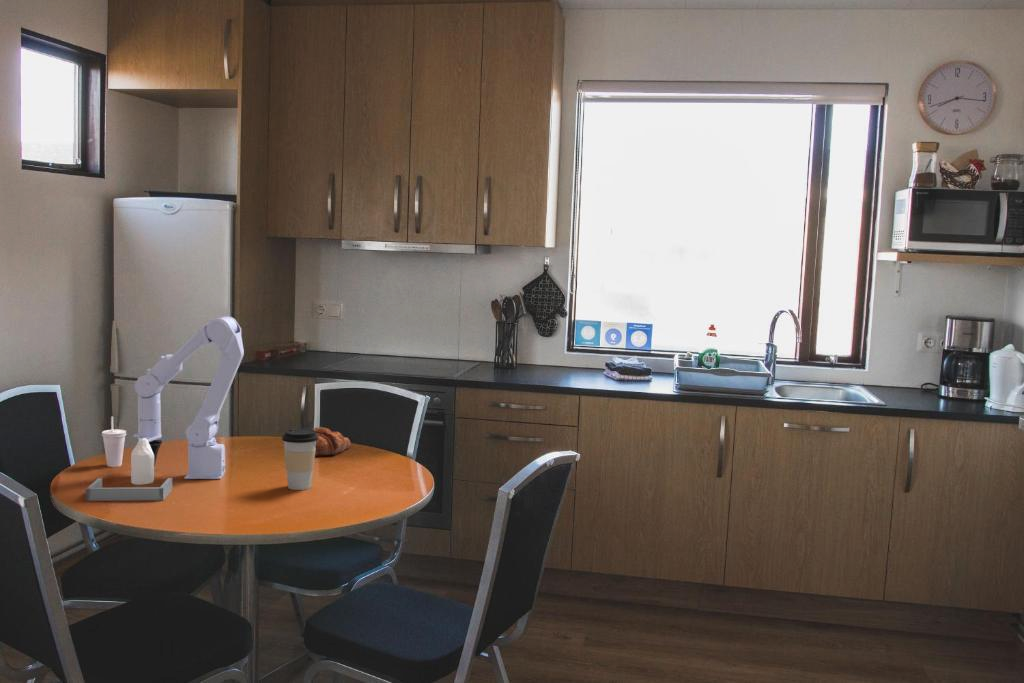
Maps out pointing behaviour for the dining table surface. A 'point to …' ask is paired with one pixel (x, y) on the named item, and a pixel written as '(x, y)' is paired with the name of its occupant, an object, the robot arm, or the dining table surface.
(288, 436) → the coffee cup
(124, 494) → the box
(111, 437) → the smoothie
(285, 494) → the dining table surface
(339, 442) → the pastry
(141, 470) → the white rounded-top container
